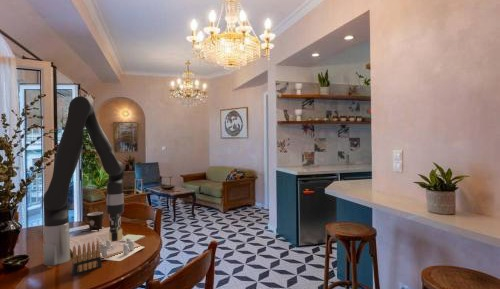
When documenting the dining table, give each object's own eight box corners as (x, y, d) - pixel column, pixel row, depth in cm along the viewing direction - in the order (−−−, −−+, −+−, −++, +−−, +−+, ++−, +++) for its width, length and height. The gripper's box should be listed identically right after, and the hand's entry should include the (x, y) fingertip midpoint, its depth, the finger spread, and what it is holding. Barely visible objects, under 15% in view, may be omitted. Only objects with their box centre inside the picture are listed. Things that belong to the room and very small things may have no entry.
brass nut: (115, 242, 142) (115, 231, 142) (107, 241, 144) (106, 230, 144) (124, 238, 148) (124, 227, 148) (115, 237, 149) (115, 227, 149)
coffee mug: (106, 229, 187) (106, 212, 187) (93, 233, 180) (92, 216, 179) (95, 226, 193) (95, 210, 193) (82, 230, 186) (81, 214, 186)
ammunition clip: (100, 267, 131) (99, 239, 131) (101, 268, 130) (100, 240, 130) (72, 275, 124) (70, 245, 124) (73, 276, 123) (72, 246, 122)
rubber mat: (131, 244, 159) (131, 242, 159) (114, 242, 162) (114, 240, 162) (145, 237, 170) (144, 235, 170) (128, 235, 173) (128, 234, 173)
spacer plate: (120, 262, 135) (119, 250, 135) (87, 258, 141) (86, 247, 141) (145, 247, 153) (144, 237, 153) (115, 245, 158) (114, 235, 158)
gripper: (120, 205, 140) (121, 243, 140) (126, 199, 154) (126, 233, 154) (102, 206, 138) (103, 244, 138) (110, 200, 152) (110, 234, 152)
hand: (115, 238), depth 146 cm, fingers closed on brass nut, 5 cm apart
